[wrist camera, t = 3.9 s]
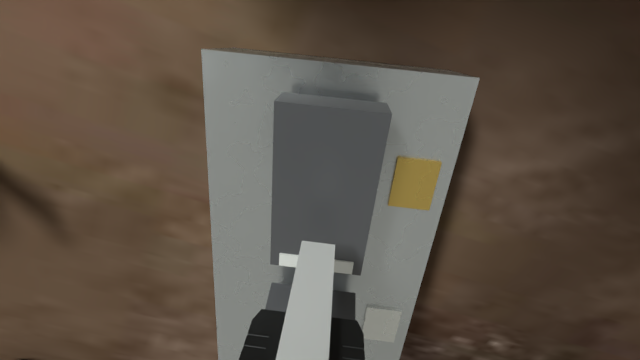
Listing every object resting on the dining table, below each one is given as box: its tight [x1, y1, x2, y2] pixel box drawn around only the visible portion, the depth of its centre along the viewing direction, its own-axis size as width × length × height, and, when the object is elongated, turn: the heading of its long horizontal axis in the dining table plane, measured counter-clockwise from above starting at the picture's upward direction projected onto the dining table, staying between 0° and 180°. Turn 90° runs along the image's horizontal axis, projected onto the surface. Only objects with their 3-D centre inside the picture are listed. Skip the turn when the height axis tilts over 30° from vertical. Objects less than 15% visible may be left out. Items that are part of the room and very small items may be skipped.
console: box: [201, 48, 480, 360], centre depth 25 cm, size 34×14×6 cm, turn 175°
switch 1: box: [270, 92, 392, 276], centre depth 16 cm, size 9×5×2 cm, turn 175°
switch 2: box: [265, 282, 356, 320], centre depth 21 cm, size 9×5×2 cm, turn 175°
